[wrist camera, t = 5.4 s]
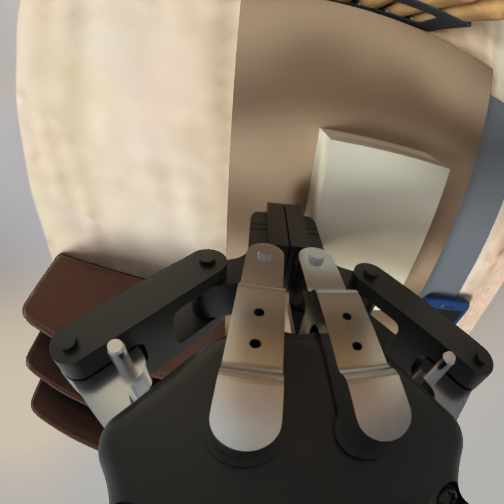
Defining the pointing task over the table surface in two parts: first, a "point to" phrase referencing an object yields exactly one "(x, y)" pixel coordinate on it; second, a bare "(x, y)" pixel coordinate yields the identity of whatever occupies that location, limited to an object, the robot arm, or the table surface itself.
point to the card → (373, 200)
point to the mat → (473, 210)
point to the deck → (346, 109)
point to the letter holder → (60, 315)
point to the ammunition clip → (433, 11)
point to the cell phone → (448, 306)
